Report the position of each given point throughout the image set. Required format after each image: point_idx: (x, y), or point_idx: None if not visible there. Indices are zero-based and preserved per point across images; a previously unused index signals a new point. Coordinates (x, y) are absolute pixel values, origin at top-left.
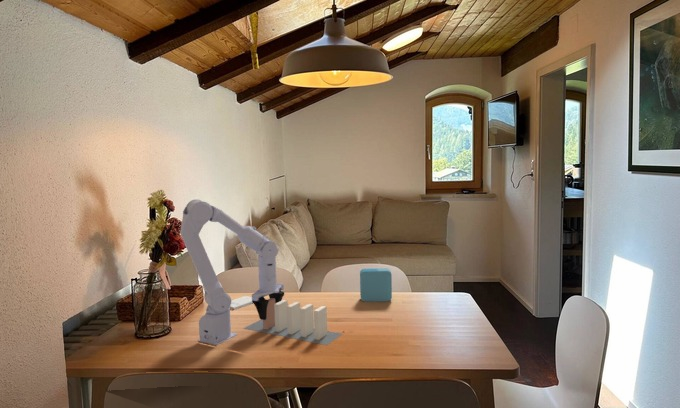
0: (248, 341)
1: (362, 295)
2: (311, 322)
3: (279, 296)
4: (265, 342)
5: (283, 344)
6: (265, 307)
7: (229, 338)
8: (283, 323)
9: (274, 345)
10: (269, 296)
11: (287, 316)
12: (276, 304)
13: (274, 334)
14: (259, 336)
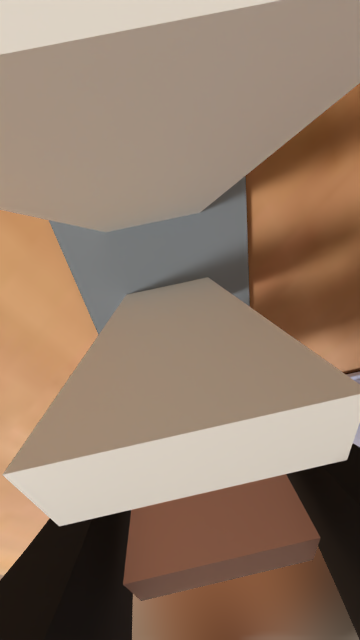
0: (342, 310)
1: None
2: None
3: (54, 638)
4: (331, 237)
5: (328, 108)
6: (349, 456)
7: (352, 374)
8: (170, 294)
9: (355, 154)
10: (129, 625)
11: (247, 170)
12: (354, 425)
13: (246, 270)
14: (280, 318)
